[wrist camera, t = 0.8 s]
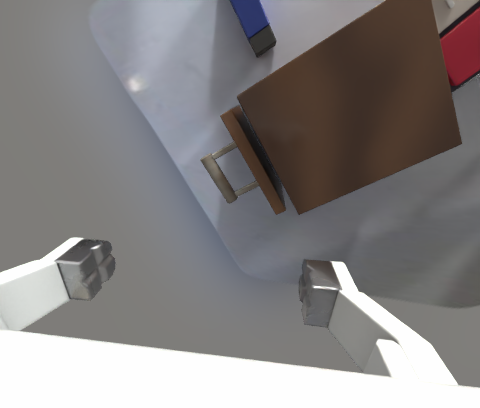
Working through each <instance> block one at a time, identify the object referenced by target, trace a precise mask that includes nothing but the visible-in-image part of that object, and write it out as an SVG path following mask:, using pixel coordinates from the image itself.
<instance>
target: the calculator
mask: <svg viewBox="0 0 480 408" xmlns="http://www.w3.org/2000/svg"><path fill="white" fill-rule="evenodd" d="M432 5H433V9H434V14H435V19H436V23H437V28H438V33H439V38H440V42H441V47H442V52H443V56H444V61H445V66H446V71H447V75H448V80H449V85H450V89H451V92H453V91H455V90H456V89H457V88H459V87H460V86H462V85H463V84H464V83H466V82H467V81H469V80H470V79H471V78H473V77H474V76H476V75H477V74H478V73H480V0H432Z"/></svg>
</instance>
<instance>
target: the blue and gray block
mask: <svg viewBox="0 0 480 408" xmlns="http://www.w3.org/2000/svg"><path fill="white" fill-rule="evenodd" d="M230 2H231V4H232V7H233V9H234V11H235V13H236V15H237V17H238V19H239V21H240V24H241V26H242V28H243V30H244V32H245V34H246V36H247V38H248V41H249V43H250V44H251V46H252V48H253V50H254V52H255V54H256V56H257V57H259V56H260V55H262V54H263V53H265V52H266V51H268V50H269V49H271V48H272V47H274V46H275V44H276V39H275V36H274V34H273V32H272V29H271V27H270V25H269V21H268V19H267V16H266V14H265V12H264V9H263V7H262V5H261V3H260V0H230Z"/></svg>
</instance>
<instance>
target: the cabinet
mask: <svg viewBox="0 0 480 408" xmlns="http://www.w3.org/2000/svg"><path fill="white" fill-rule="evenodd" d="M237 98H238V100H239V102H240V104H241V106H242V108H243V110H244V112H245V114H246V116H247V117H248V119H249V121H250V123H251V125H252V127H253V129H254V131H255V133H256V135H257V136H258V138H259V140H260V142H261V144H262V146H263V148H264V150H265V152H266V154H267V155H268V157H269V159H270V161H271V163H272V165H273V167H274V169H275V171H276V172H277V174H278V176H279V178H280V180H281V182H282V184H283V186H284V188H285V190H286V191H287V193H288V195H289V197H290V199H291V201H292V203H293V205H294V207H295V209H296V210H297V212H298V214H299V215H300V214H302V213H304V212H307V211H309V210H311V209H314V208H316V207H318V206H320V205H323V204H325V203H327V202H330V201H332V200H334V199H337V198H339V197H341V196H343V195H346V194H348V193H350V192H353V191H355V190H357V189H360V188H362V187H364V186H366V185H369V184H371V183H373V182H376V181H378V180H380V179H383V178H385V177H387V176H389V175H392V174H394V173H396V172H399V171H401V170H403V169H406V168H408V167H410V166H412V165H415V164H417V163H419V162H422V161H424V160H426V159H429V158H431V157H433V156H435V155H438V154H440V153H442V152H445V151H447V150H449V149H452V148H454V147H456V146H458V145H461V144H462V141H461V136H460V132H459V127H458V122H457V118H456V113H455V108H454V103H453V99H452V94H451V89H450V85H449V80H448V75H447V71H446V66H445V61H444V56H443V52H442V47H441V42H440V38H439V33H438V28H437V23H436V19H435V14H434V9H433V5H432V0H385V1H384V2H382V3H381V4H379V5H378V6H376V7H375V8H373V9H371V10H370V11H368V12H367V13H365V14H364V15H362V16H360V17H359V18H357V19H356V20H354V21H353V22H351V23H350V24H348V25H346V26H345V27H343V28H342V29H340V30H339V31H337V32H336V33H334V34H332V35H331V36H329V37H328V38H326V39H325V40H323V41H322V42H320V43H318V44H317V45H315V46H314V47H312V48H311V49H309V50H308V51H306V52H304V53H303V54H301V55H300V56H298V57H297V58H295V59H294V60H292V61H290V62H289V63H287V64H286V65H284V66H283V67H281V68H279V69H278V70H276V71H275V72H273V73H272V74H270V75H269V76H267V77H265V78H264V79H262V80H261V81H259V82H258V83H256V84H255V85H253V86H251V87H250V88H248V89H247V90H245V91H244V92H242V93H241V94H239V95H237Z"/></svg>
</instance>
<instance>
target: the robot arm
mask: <svg viewBox="0 0 480 408" xmlns="http://www.w3.org/2000/svg"><path fill="white" fill-rule="evenodd" d="M111 251H112V246H111V243H110V242H108V241H102V240H94V239H84V238H70V239H69V240H67V241H66V242H65V243H63V244H62V245H60V246H59V247H58V248H56V249H55V250H54V251H52V252H51V253H49V254H48V255H47V256H45V257H44V258H42V259H41V260H35V261H32V262H29V263H26V264H24V265H21V266H18V267H15V268H12V269H9V270H6V271H3V272H1V273H0V408H480V388H477V387H468V386H461V385H458V384H457V382H456V381H455V379H454V378H453V376H452V375H451V373H450V372H449V370H448V369H447V367H446V366H445V364H444V363H443V361H442V360H441V358H440V357H439V355H438V354H437V353H436V351H435V350H434V348H433V347H432V345H431V344H430V343H429V342H427V341H426V340H425V339H423V338H422V337H420V336H419V335H418V334H416V333H415V332H414V331H413V330H411V329H410V328H409V327H408V326H406V325H405V324H403V323H402V322H401V321H399V320H398V319H397V318H396V317H394V316H393V315H392V314H390V313H389V312H387V311H386V310H385V309H384V308H382V307H381V306H380V305H378V304H377V303H376V302H374V301H373V300H372V299H370V298H369V297H368V296H366V295H365V294H364V293H360V292H358V290H357V288H356V286H355V284H354V282H353V280H352V278H351V276H350V274H349V272H348V270H347V268H346V266H345V264H344V263H343V262H335V261H317V260H306V259H304V261H303V264H302V271H303V274H302V275H301V276H300V280H299V297H300V301H301V302H302V303H303V305H302V314H303V320H304V324H305V325H312V326H320V327H327V328H328V330H329V331H330V332H331V334H332V335H333V336H334V337H335V339H336V340H337V341H338V342H339V344H340V345H341V346H342V347H343V349H344V350H345V351H346V352H347V354H348V355H349V356H350V357H351V359H352V360H353V361H354V362H355V363H356V365H357V366H358V367H359V368H360V370H361V371H362V372H363V373H354V372H347V371H339V370H330V369H323V368H315V367H306V366H298V365H290V364H282V363H274V362H265V361H257V360H250V359H241V358H233V357H225V356H217V355H209V354H201V353H193V352H184V351H176V350H168V349H159V348H152V347H144V346H136V345H127V344H119V343H111V342H103V341H95V340H86V339H79V338H71V337H63V336H62V337H61V336H53V335H46V334H38V333H30V332H21V330H22V329H24V328H25V327H27V326H29V325H30V324H32V323H33V322H35V321H37V320H38V319H40V318H41V317H43V316H45V315H46V314H48V313H50V312H51V311H53V310H55V309H56V308H58V307H60V306H61V305H63V304H64V303H66V302H68V301H69V300H70V299H76V300H88V301H91V300H92V299H93V297H94V296H95V295H96V294H97V293H98V292H99V291H100V289H101V288H102V286H101V284H102V283H104V282H106V281H107V280H109V279H110V277H111V276H112V275H113V272H114V270H115V258H114V257H113V256H112V255H111V254H110V253H111Z"/></svg>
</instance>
